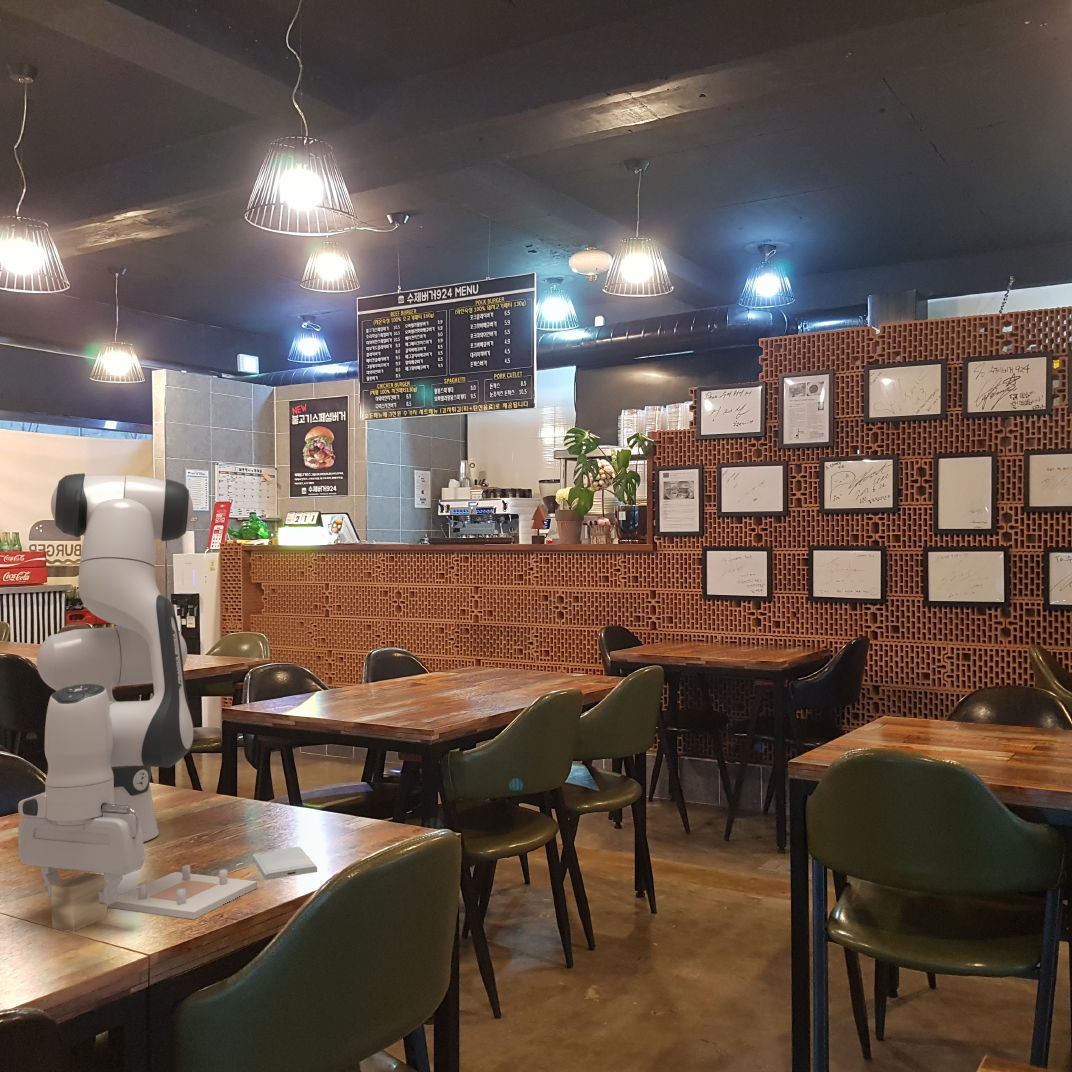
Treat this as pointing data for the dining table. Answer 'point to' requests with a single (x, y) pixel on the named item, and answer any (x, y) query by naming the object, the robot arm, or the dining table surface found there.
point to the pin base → (183, 894)
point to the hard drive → (283, 863)
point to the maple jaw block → (78, 901)
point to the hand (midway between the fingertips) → (82, 900)
